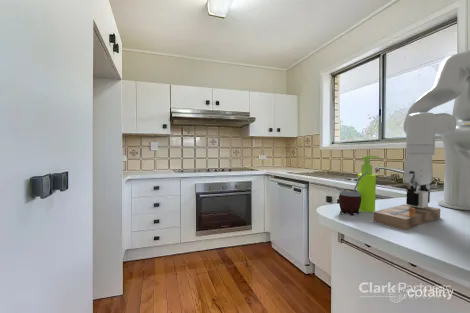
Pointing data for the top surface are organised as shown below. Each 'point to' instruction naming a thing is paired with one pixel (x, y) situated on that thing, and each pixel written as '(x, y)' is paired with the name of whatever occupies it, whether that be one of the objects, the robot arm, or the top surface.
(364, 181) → the soap dispenser
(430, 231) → the top surface
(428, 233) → the top surface
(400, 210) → the fader console
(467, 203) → the robot arm
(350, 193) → the mate gourd
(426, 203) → the fader knob
